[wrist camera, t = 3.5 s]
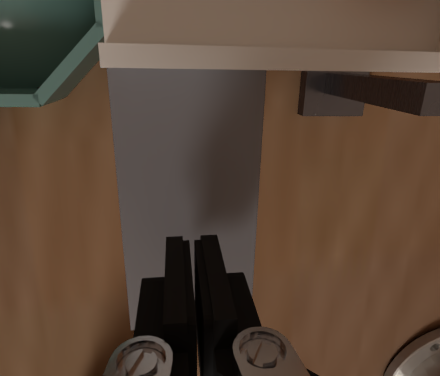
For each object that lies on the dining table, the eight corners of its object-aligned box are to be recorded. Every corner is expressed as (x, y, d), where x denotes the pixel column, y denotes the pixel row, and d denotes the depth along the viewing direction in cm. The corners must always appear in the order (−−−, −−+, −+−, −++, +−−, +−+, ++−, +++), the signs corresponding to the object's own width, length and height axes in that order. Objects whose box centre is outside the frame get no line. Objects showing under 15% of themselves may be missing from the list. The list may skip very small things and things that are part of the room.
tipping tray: (489, -203, 11) (584, -274, 8) (382, 284, 17) (418, 320, 15) (79, -283, 8) (53, -412, 6) (131, 313, 15) (128, 360, 12)
